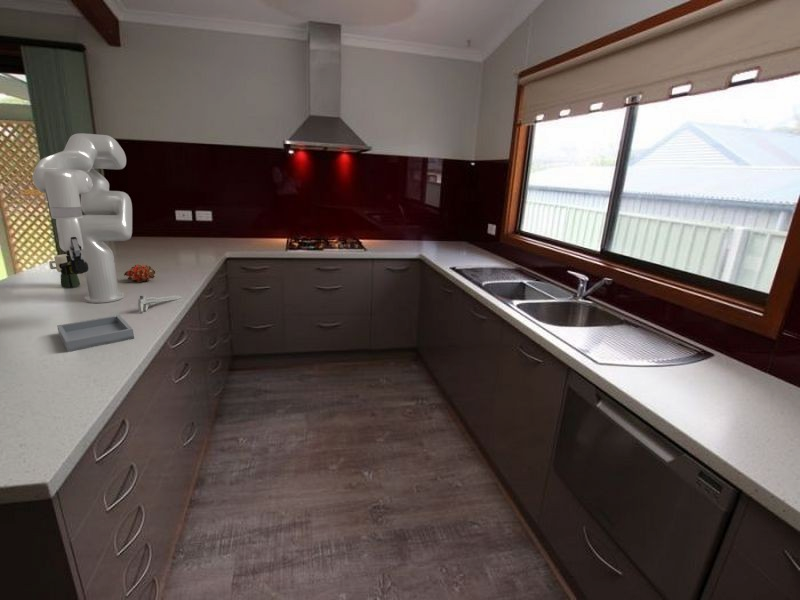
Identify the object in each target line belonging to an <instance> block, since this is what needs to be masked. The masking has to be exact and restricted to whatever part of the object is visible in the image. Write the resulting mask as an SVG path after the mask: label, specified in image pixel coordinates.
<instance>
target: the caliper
mask: <svg viewBox="0 0 800 600" xmlns="http://www.w3.org/2000/svg"><path fill="white" fill-rule="evenodd" d="M182 298H183V297H182V296H180V295H178V294H177V295H169V296H162V297H155V296H153V297H152V296H151V297H146V295H144V294H143V295H139V298H138V301H137V307H138V313H140V314H143V313H147V311H148V308H149V305H150V306H153V305H154V306H156V304H157V303H163V302H169V301H177V300H179V299H182Z"/></svg>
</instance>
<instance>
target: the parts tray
mask: <svg viewBox="0 0 800 600" xmlns="http://www.w3.org/2000/svg"><path fill="white" fill-rule="evenodd" d="M56 326H57V331H58V335H59V338H60V339H61V341H62V343H63V345H64V347H65V349H66V351H67V352H68V353H71V352H73V351H79V350H84V349H89V348H94V346H95V347H100V346H105V345H108V343H109V344H114V343H118V342H123V341H128V339H129V340H133V339H135V336H134V329H133V327H132V326H130V324H129V323H128V322H127V321H126V320H125V319H124V318H123V317H122V316H121V315H120V314H118V315H111V316H105V317H100V318H93V319H88V320H82V321H75V322H69V323H64V324H58V325H56ZM104 344H105V345H104ZM99 345H100V346H99Z"/></svg>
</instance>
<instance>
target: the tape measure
mask: <svg viewBox="0 0 800 600" xmlns="http://www.w3.org/2000/svg"><path fill="white" fill-rule="evenodd" d="M84 264H85V270H86V271H85V272H87V271H88V269H89V268H88V264H87V262H85V261H84ZM61 266H62V270H60V271H61V272H60V273H63V274H64V275H68V274H77V275H83V274H85V272H82V273H73V272H72V266H71V262H66V263H62V265H61Z"/></svg>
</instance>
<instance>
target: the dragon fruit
mask: <svg viewBox="0 0 800 600" xmlns="http://www.w3.org/2000/svg"><path fill="white" fill-rule="evenodd" d="M155 274H156V271H155V270H154V268H152V267H151V266H149V265H147V264H145V263H142V265H141V264H134V266H131V268H130V269H128V270H127V271H125V272H124V275H123V276H124V277H125V276H126V277H127V280H129V281H132V282H137V283H140V284H141V283H142V282H143V281H144V282H145V283H147V282H149V279H154V278H155V277H156V276H155Z"/></svg>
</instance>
